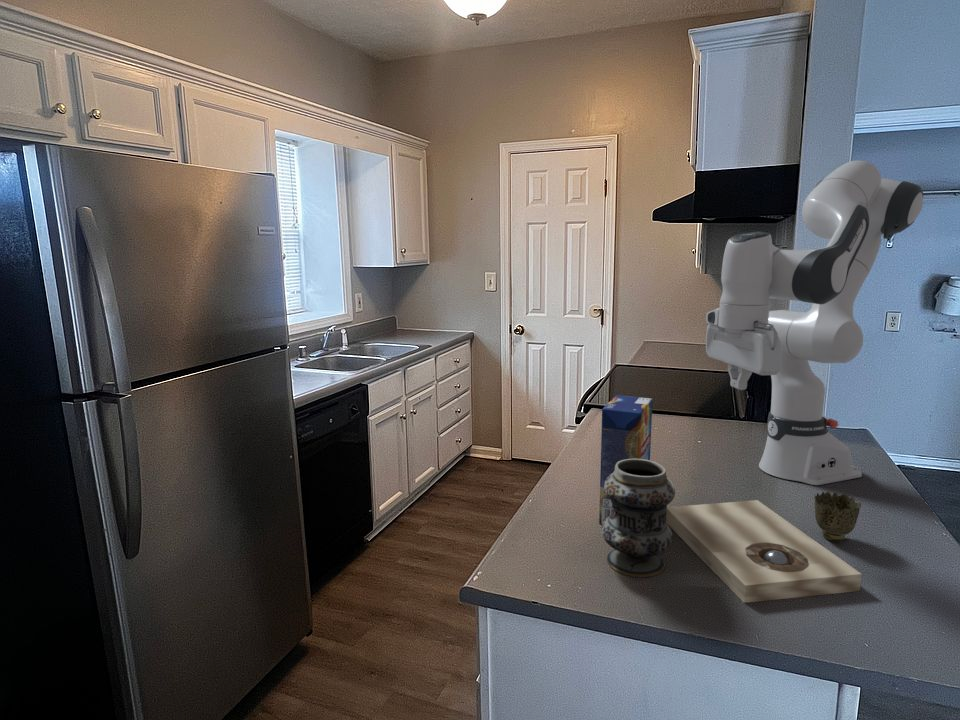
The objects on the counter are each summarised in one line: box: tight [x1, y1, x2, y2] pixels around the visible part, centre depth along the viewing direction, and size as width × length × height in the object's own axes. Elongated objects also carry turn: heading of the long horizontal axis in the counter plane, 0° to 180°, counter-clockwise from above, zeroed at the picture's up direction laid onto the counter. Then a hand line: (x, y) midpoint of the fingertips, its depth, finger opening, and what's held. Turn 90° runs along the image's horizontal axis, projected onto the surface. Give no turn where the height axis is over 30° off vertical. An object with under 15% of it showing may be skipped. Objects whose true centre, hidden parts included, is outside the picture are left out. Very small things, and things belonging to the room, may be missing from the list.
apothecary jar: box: [601, 459, 676, 578], centre depth 102 cm, size 12×12×18 cm
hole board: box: [666, 499, 863, 604], centre depth 106 cm, size 20×28×3 cm
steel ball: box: [763, 550, 789, 566], centre depth 99 cm, size 4×4×4 cm
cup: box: [814, 491, 862, 543], centre depth 110 cm, size 8×7×8 cm
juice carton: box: [598, 394, 654, 525], centre depth 120 cm, size 12×8×24 cm, turn 154°
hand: (738, 388), depth 115 cm, fingers closed
